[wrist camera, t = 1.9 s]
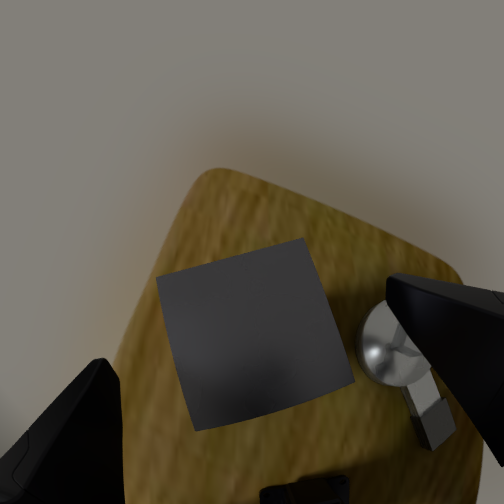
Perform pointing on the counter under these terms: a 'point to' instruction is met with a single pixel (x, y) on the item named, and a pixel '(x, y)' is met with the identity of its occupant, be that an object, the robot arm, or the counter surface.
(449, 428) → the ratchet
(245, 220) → the counter surface
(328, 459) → the counter surface
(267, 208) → the counter surface
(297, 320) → the dark grey square block
